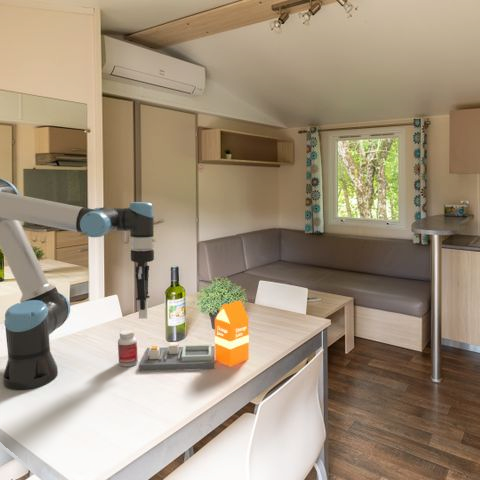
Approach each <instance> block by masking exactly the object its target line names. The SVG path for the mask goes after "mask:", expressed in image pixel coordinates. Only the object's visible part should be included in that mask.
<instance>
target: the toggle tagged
mask: <svg viewBox="0 0 480 480" xmlns="http://www.w3.org/2000/svg"><path fill="white" fill-rule="evenodd" d="M149 348H150V350H149V357H150V359H159V357H160V348H161V347H160V346H158V345H157V346H156V345H155V346H151V347H149Z"/></svg>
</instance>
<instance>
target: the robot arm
mask: <svg viewBox="0 0 480 480" xmlns="http://www.w3.org/2000/svg"><path fill="white" fill-rule="evenodd" d="M154 219H155V216H154V205H153V204H152V203H151V202H148V201H131V202H130V204H129V207H125V208H123V207H106V206H105V207H95V208H89V207H83V206H79V205H72V204H67V203H64V202H63V203H62V202H57V201H51V200H46V199H41V198H36V197H31V196H26V195H21V194H20V193H19V191H18V189H17V187H16V186H15V185H14V184H13V183H12V182H10V181H8V180H6V179H3V178H0V250H1V252H2V254H3V256H4V258H5V260H6V262H7V264H8V267H9V269H10V271H11V273H12V275H13V277H14V279H15V281H16V284H17V286H18V288H19V290H20V292H21V294H22V296H21V298H20V300H19V302H18V303H15V304H12V305H11V306H9V307H8V309H6V311H5V314H4V327H5V335H6V337H5V338H6V347H7V349H6V350H7V357H8V358H7V362H6V366H5V369H4V373H3V386H4V387H5V388H7V389H9V390H16V391H17V390H30V389H35V388H39V387H42V386H45V385H46V384H50V383H51V382H52V381H53V380H55V379H56V378H57V377H58V374H59V371H58V370H59V369H58V366H57V363H56V361H55V359H54V356H53V354H52V352H51V345H50V344H51V343H50V335H51V334H52V333H53V332H54V331H55V330H57V329H58V328H60V327H61V326H63V324H65V322H66V321H67V320H68V318H69V316H70V314H71V303H70V302H69V299H68V298H67V296H66V295H64V294H62V293H60V292H59V291H58V289H57V287H56V285H54V284H51V283H49V281H48V279H47V276H46V275H45V273H44V270H43V268H42V266H41V265H40V261H39V260H38V257H37V255H36V253H35V251H34V249H33V246H32V245H31V242H30V240H29V237H28V236H27V233H26V231H25V229H24V227H23V225H22V224H21V223H22V222H23V223H24V222H25V223H29V224H36V225H40V226H44V227H50V228H56V229H61V230H66V231H72V232H75V233H76V232H77V233H81V234H84V235H85V236H87V237H90V238H102V237H103V236H105V235H106V234H109V233H112V232H129V233H130V234H129V235H130V236H129V240H130V241H129V242H130V244H129V247H130V249H131V250H130V261H131V262H133V263H137V265H136V267H135V280H136V281H135V282H136V295H137V296H136V298H135V300H136V301H138V319H141V320H142V319H143V320H144V319H148V316H149V315H148V299H150V297H151V296H150V295H149V277H150V276H149V275H150V274H149V270H150V265H148V263H151V262H153V261H154V260H155V250H154V249H153V248H154V247H155V245H154V243H155V242H157V241H156V239H155V238H154V237H155V236H154V232H155V231H154V229H155V225H154V221H155V220H154Z"/></svg>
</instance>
